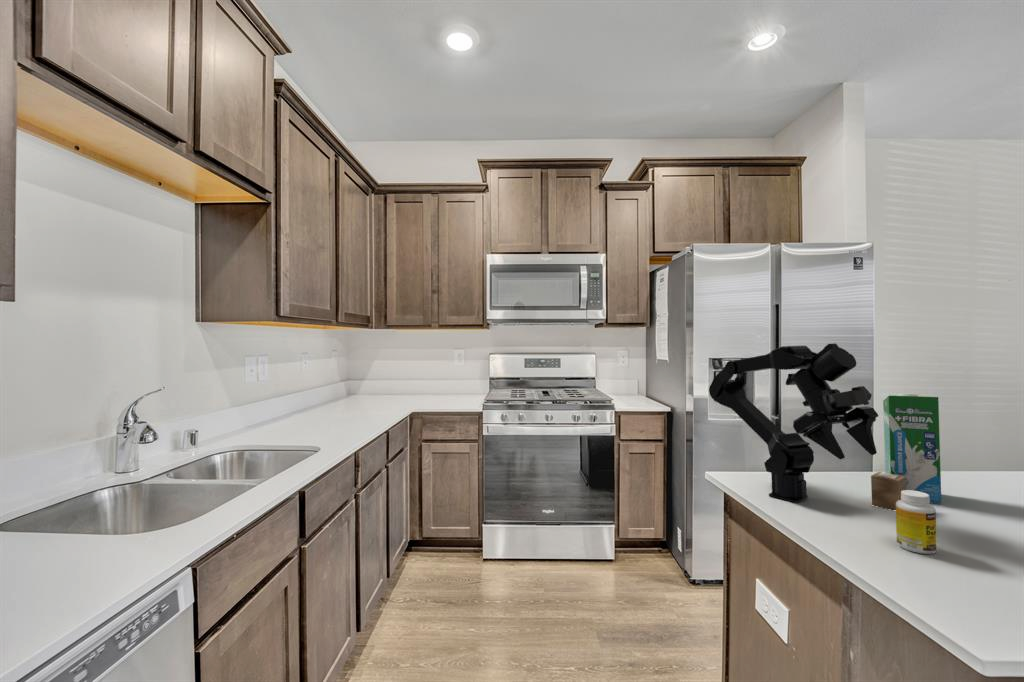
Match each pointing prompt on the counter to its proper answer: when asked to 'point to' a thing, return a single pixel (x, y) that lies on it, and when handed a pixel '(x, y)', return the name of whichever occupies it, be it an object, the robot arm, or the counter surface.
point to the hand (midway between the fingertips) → (858, 456)
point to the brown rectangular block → (887, 489)
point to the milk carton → (913, 442)
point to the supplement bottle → (916, 522)
